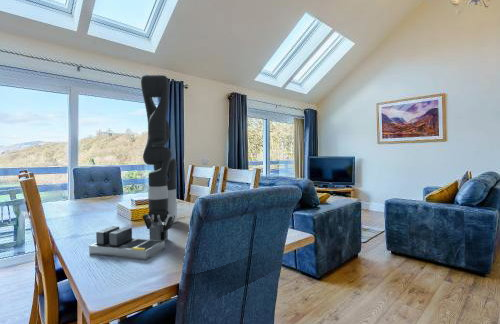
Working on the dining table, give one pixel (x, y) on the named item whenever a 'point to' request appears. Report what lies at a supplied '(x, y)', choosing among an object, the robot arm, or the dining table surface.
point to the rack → (124, 244)
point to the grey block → (156, 232)
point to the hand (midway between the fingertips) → (159, 239)
